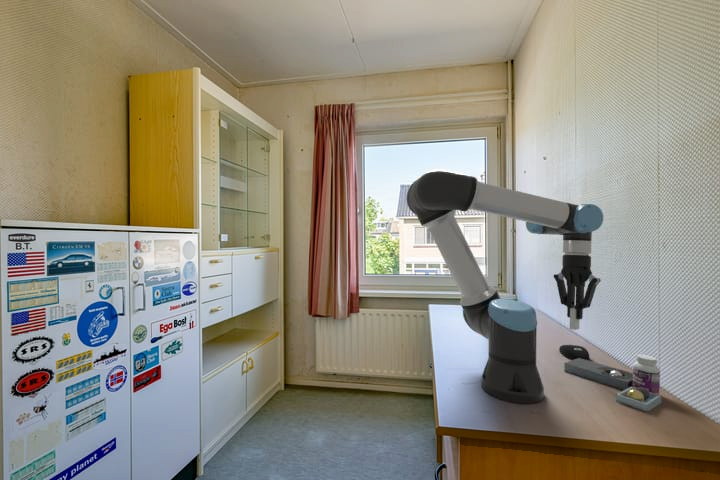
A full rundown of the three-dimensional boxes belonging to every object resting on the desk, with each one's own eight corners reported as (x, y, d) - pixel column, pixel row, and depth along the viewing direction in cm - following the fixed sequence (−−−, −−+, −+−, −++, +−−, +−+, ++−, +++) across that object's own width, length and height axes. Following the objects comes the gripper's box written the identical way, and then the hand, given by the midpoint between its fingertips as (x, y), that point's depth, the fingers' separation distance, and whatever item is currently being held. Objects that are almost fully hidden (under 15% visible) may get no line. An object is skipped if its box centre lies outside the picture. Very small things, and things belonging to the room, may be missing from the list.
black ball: (646, 402, 79) (646, 391, 79) (632, 397, 82) (632, 386, 82) (651, 399, 81) (651, 388, 81) (637, 395, 83) (637, 384, 83)
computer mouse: (569, 362, 108) (569, 350, 108) (556, 351, 120) (556, 340, 120) (595, 364, 106) (595, 352, 106) (579, 352, 118) (579, 342, 118)
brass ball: (641, 407, 77) (641, 393, 77) (624, 401, 80) (624, 388, 80) (646, 403, 79) (646, 390, 79) (630, 398, 81) (630, 385, 81)
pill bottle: (627, 389, 87) (628, 354, 87) (641, 387, 89) (642, 352, 89) (650, 399, 82) (650, 361, 82) (664, 396, 83) (665, 359, 83)
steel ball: (622, 378, 90) (610, 369, 92) (615, 385, 91) (604, 376, 93) (627, 375, 91) (616, 366, 94) (621, 383, 93) (609, 374, 95)
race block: (627, 391, 86) (627, 382, 86) (564, 370, 100) (564, 362, 100) (641, 384, 91) (641, 375, 91) (578, 365, 105) (579, 357, 105)
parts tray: (647, 412, 75) (647, 404, 75) (616, 401, 80) (616, 394, 80) (661, 403, 80) (661, 395, 80) (631, 393, 85) (631, 386, 85)
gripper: (606, 255, 98) (603, 333, 98) (561, 253, 109) (559, 323, 109) (593, 255, 94) (591, 335, 94) (549, 253, 105) (546, 325, 105)
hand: (574, 328), depth 101 cm, fingers closed
